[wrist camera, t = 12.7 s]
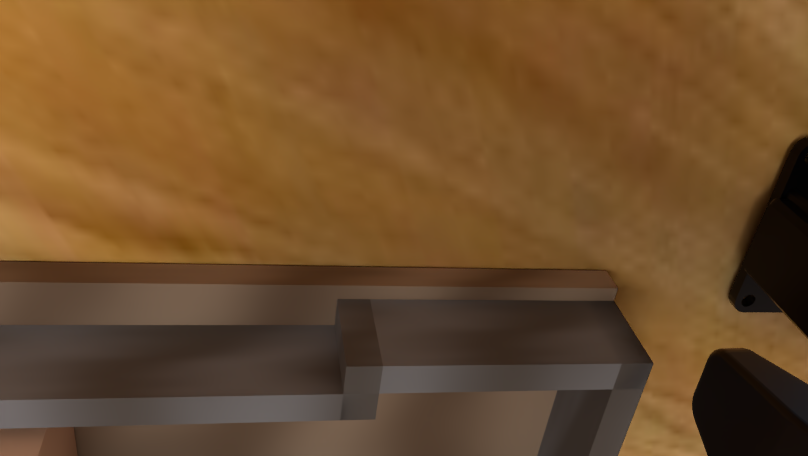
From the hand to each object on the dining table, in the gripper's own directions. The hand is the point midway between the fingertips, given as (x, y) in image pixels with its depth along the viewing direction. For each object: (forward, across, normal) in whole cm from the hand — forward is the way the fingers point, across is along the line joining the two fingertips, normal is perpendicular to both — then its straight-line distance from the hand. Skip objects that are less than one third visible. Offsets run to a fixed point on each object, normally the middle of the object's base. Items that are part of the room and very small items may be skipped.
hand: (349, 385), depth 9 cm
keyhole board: (+13, +1, +12) cm, 18 cm away
